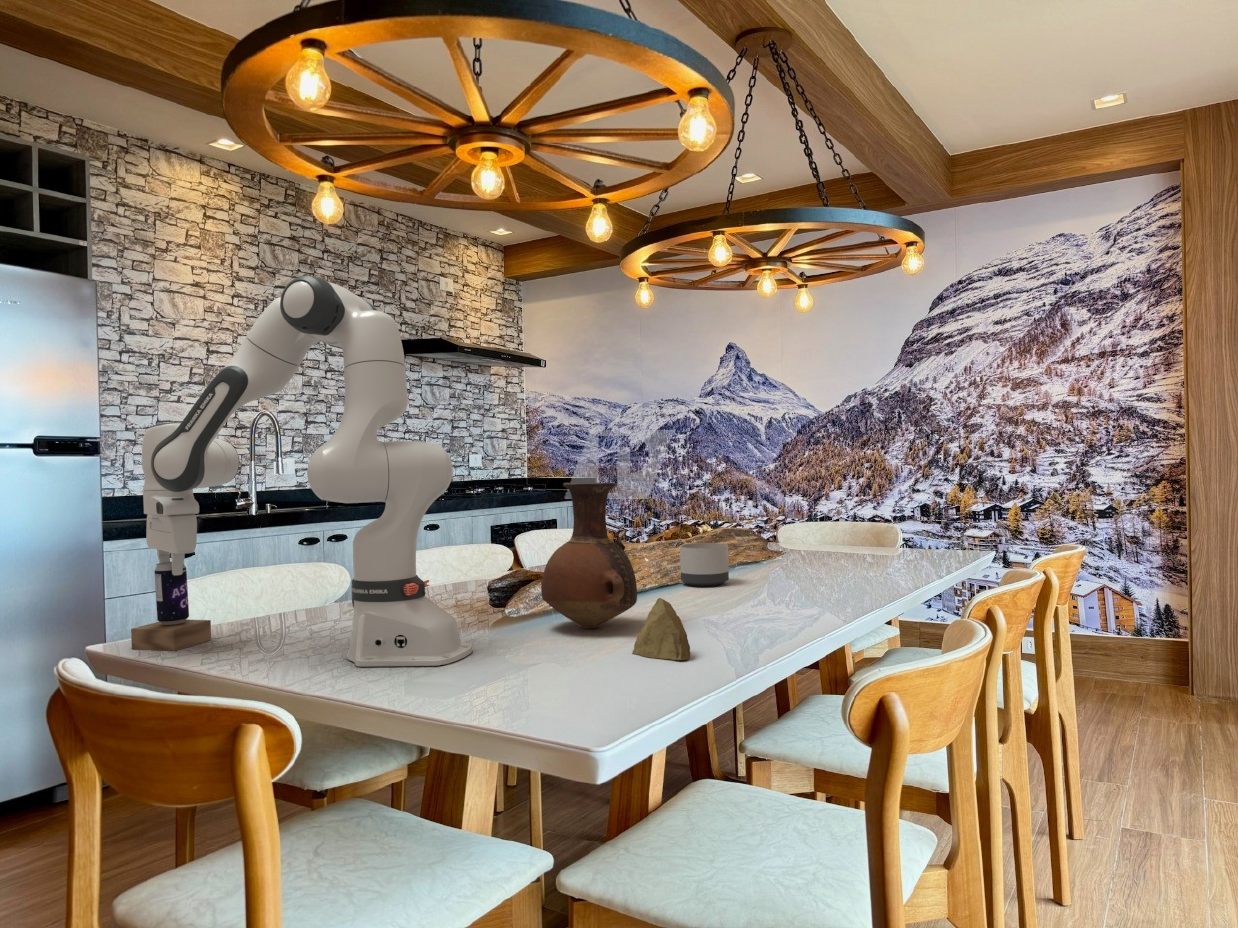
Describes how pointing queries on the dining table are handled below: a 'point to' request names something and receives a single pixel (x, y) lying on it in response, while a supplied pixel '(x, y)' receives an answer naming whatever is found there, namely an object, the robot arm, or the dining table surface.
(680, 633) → the rock
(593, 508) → the vase
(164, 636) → the walnut block
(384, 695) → the dining table surface
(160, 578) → the beverage can
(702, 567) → the planter
